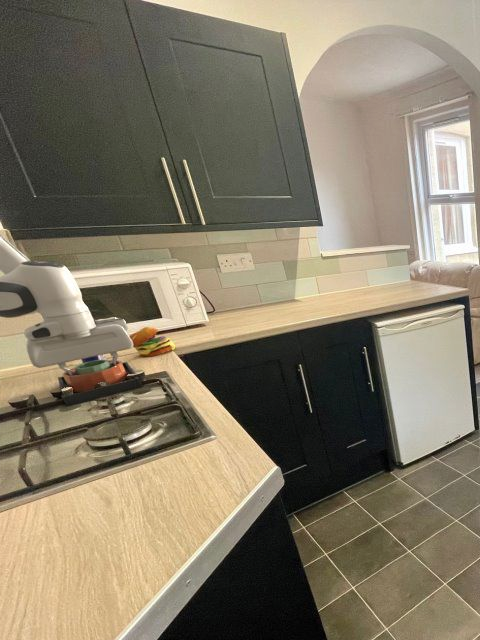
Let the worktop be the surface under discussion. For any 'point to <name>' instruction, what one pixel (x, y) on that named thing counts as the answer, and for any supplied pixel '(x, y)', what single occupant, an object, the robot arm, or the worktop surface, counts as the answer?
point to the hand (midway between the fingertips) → (95, 372)
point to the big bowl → (96, 378)
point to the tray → (100, 389)
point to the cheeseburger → (150, 342)
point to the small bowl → (92, 367)
